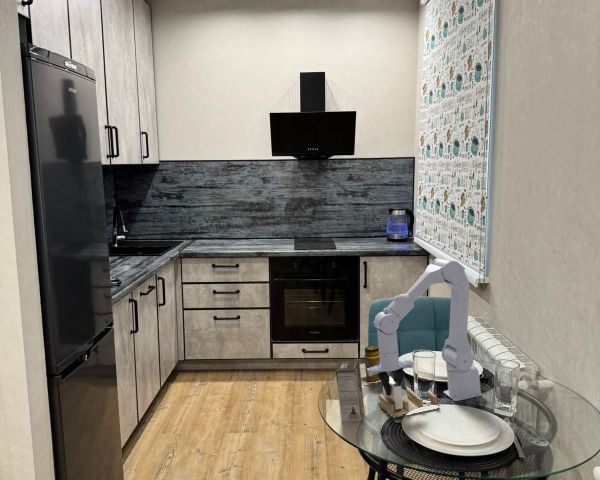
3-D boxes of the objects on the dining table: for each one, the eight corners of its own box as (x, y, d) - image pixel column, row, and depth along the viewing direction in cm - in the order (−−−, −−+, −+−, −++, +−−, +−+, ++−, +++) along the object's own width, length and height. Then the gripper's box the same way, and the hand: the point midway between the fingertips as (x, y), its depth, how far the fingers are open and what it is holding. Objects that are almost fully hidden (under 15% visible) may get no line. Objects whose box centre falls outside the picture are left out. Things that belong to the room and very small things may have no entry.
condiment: (387, 381, 196) (384, 348, 195) (364, 385, 194) (361, 352, 193) (380, 374, 203) (377, 342, 202) (358, 378, 201) (354, 346, 200)
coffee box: (344, 409, 177) (339, 360, 175) (364, 408, 176) (359, 359, 174) (340, 422, 168) (335, 371, 166) (362, 421, 167) (356, 370, 165)
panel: (391, 397, 177) (389, 376, 176) (403, 407, 169) (401, 385, 168) (384, 398, 177) (382, 377, 176) (395, 409, 168) (393, 387, 167)
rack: (422, 394, 181) (421, 383, 181) (439, 408, 170) (438, 397, 169) (378, 403, 178) (377, 392, 178) (393, 418, 166) (391, 406, 166)
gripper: (405, 343, 176) (408, 384, 178) (361, 351, 173) (366, 393, 175) (414, 349, 169) (418, 392, 171) (369, 358, 166) (374, 401, 168)
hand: (392, 393), depth 172 cm, fingers closed on panel, 2 cm apart
